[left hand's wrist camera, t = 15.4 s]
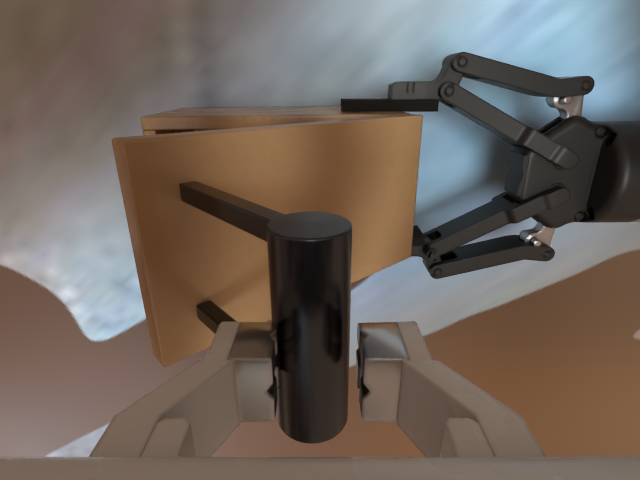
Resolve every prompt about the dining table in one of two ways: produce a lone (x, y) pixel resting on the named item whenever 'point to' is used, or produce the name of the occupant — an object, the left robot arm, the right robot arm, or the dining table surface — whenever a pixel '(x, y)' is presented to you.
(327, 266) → the lid
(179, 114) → the chest
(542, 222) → the right robot arm
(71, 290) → the dining table surface
